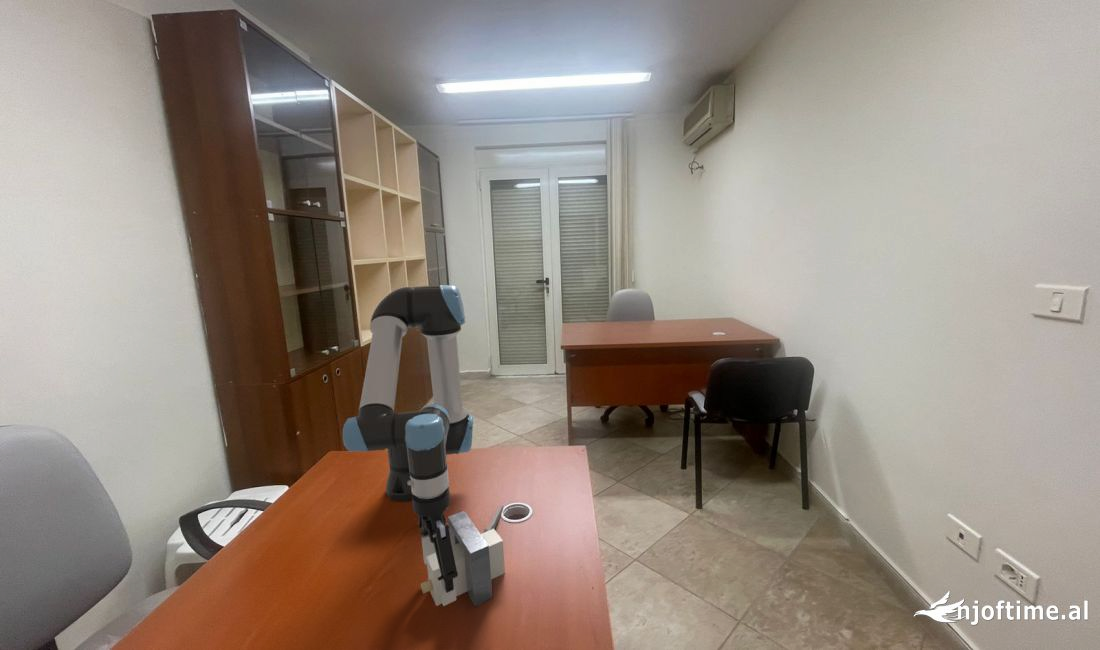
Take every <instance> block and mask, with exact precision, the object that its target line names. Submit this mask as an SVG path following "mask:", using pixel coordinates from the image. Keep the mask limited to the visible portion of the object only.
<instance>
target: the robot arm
mask: <svg viewBox="0 0 1100 650" xmlns="http://www.w3.org/2000/svg"><path fill="white" fill-rule="evenodd" d="M372 313H373V314H372V315H371V318H370V323H369V330H370V332H371V334H372V335H371V341H370V347H369V351H368V358H367V363H366V369H365V374H364V380H363V386H362V392H361V397H360V401H359V408H358V415H357V416H353V417H349V418H347V419H346V420H345V423H344V424H343V428H342V442H343V445H344V447H345V448H346V450H347V451H348V452H355V453H356V452H370V451H375V450H378V451H379V450H384V449H386V450H387V454H388V455H387V456H388V464H389V472H388V477H387V481H386V483H385V492H386V497H387V498H388V499H390V500H392V501H394V502H410V501H412V511H413V513H415V515H417V516H418V520H417V528H418V529H420V531H419V533H420V536H421V537H420V538H421V546H422V547H421V548H422V556H423V564H424V565H426V566H427V559H426V556H429V555H431V554H434V553H436V556H437V560H438V564H439V568H440V573H441V575H439V576H440V577H438V580H439V581H440V586H441V597H442V606H443V607H445V606H446V605H449V604H451V603H454V602H455V601H457V596H456V590H455V579H454V578H455V577H457V576H458V572H457V569H456V564H455V559H454V555H453V550H452V545H451V540H450V534H449V523H447V521H446V517H445V514H444V512H445V511H446V510H447V509H448V508H449V507H450V505H451V494H450V493H451V492H450V486H449V485H450V479H449V478H450V477H449V469H448V468H449V467H448V464H447V463H448V462H447V455H459V454H463V453H468V452H470V451H471V450H472V445H473V431H474V429H473V428H474V415H473V414H469V410H468V408H467V407H465V406H464V405H463V395H462V385H461V372H460V360H459V351H458V340H457V339H458V338H457V336H458V334H459V333H460V332H461V331H462V326H463V325H464V324H465V323H466V315H465V310H464V304H463V299H462V296H461V293H460V290H459V288H458V287H457V286H455V285H450V284H449V285H443V284H436V285H422V286H405V287H400V288H397V289H395V290H393V291H391V292H390V293H389V294H387V295H386V296H384V298H382V300H381V301H380V302H379V303H378V304H377V306H376V307H375V309H374V311H373V312H372ZM409 328H420V329H419V330H420V334H421V335H422V336H424V337H425V339H426V342H427V352H428V361H429V369H430V370H429V372H430V377H431V378H430V379H431V388H432V396H433V397H432V399H433V404H429V405H427V406H424V407H422V409H420V410H418V411H407V412H394V411H395V405H396V404H395V403H396V395H397V389H398V388H397V386H398V379H399V369H400V361H401V353H402V343H403V337H404V336H406V334H407V332H408V329H409Z"/></svg>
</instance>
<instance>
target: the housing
mask: <svg viewBox="0 0 1100 650" xmlns="http://www.w3.org/2000/svg"><path fill="white" fill-rule="evenodd" d="M447 520H448V521H447V524H448V526H449V534H450V540H451V545H452V546H453V545H455V544H458V543H460V544H461V546H462V548H463V549H464V553H465V565H466V577H467V588H468V591H467V595H468V596H469V598H470V600H471V602H472V604H473V606H474V607H476V606H477V607H478V606H479V605H481V604H482V603H485V602H487V601H488V600H490V599H492V598H493V588H492V579H491V572H490V558H489V546H488V544H487V543H486V541H485V540H484V538H483V537H482V535H481V534H482V533H481V532H480V531H479V530H478V528H477V527H476V525H475V524H474V523H473V521H472V520H471V519H470V517H469V516H468V513H466V511H465V510H462V511H459V512H457V513H455V514H452V515H449V516H447Z"/></svg>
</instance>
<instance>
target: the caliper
mask: <svg viewBox="0 0 1100 650" xmlns="http://www.w3.org/2000/svg"><path fill="white" fill-rule="evenodd" d="M503 510H504V506H503V505H498V507H497V510H496V511H495V513H494V515H493V518H492V519H491V522H490V523H489V524H488V526H487V528H486V529H484V528H483V529H484V530H483V531H482V533H484V532H487V531H489V530H492V529H494V530H495V528H496V526H497V524H498V522H499V520H500V518H501V516H502V513H503Z"/></svg>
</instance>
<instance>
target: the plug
mask: <svg viewBox="0 0 1100 650" xmlns="http://www.w3.org/2000/svg"><path fill="white" fill-rule="evenodd" d="M483 532H484V531H483ZM483 532H482V533H480V534H481V535H482V537H483V538H484V540H485V541H486V543H487V544H488V546H489V558H490V572H491V580H493V579H495V578H497V577H499V576H502V575H504V574H506V570H505V569H506V568H505V554H504V553H505V552H504V540H503V539H502V538H501V536H500V534H499V533H498V532H497V531H496V530H495V528H494V529H492V530H489V531H487V532H484V533H483ZM452 550H453V555H454V559H455V564H456V569H457V572H458V576H457V577H455V578H454V579H455V590H456V597H458V596H460V595H462V594H464V593H466V592H467V593H468V588H467V577H466V565H465V553H464V549H463V548H462V546H461V544H460V543H458V544H455V545H453V546H452ZM426 559H427V564H426V568H427V576H428V577H427V578H428V579H427V580H426V581H423V582H421V583H420V587H421V588H420V589H421V592H422V594H425V593H429V592H430V594H431V597H432V599H433V601H434V605H435V607H437V606H440V605H441V604H442V597H441V586H440V581H439V580H438V577H440V576H439V575H441V573H440V568H439V564H438V560H437V556H436V553H434V554H431V555H429V556H426ZM442 605H443V604H442Z"/></svg>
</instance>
